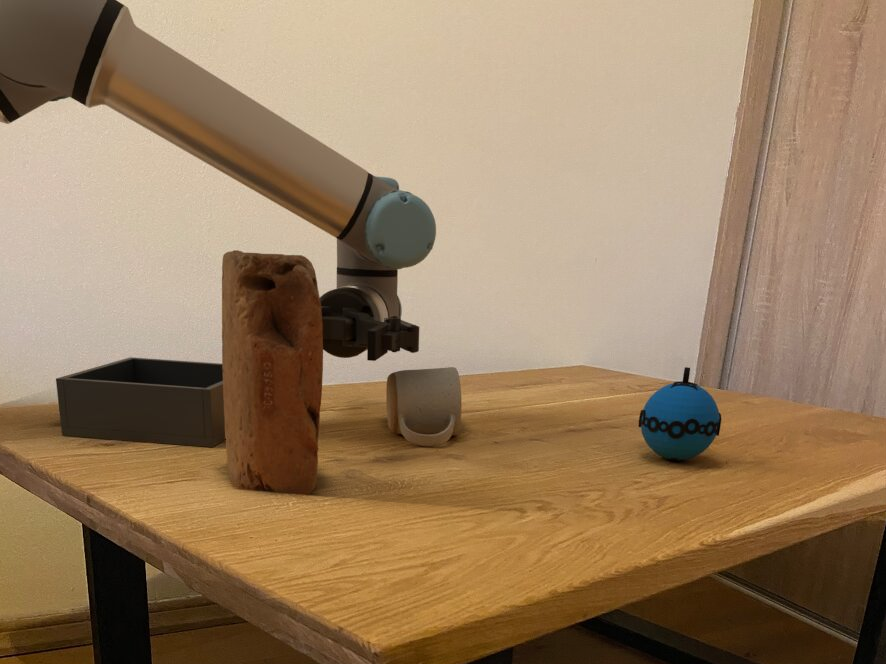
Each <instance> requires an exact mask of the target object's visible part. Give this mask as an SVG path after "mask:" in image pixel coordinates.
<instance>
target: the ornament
mask: <svg viewBox="0 0 886 664" xmlns="http://www.w3.org/2000/svg"><path fill="white" fill-rule="evenodd" d="M690 374H691V367H687V366H685V367H684V370H683V374H682V375H683V377H682V381H680V380H678V381H674V382H673V383H669V384H666V385H664V386H662V387H661V388H659V389H657V390H656V391H655V392H654V393H652V395H651V396H649V398H648V400H647V401H646V403H645V404H644V406H643V409H641V410H640V414H639V417H638V428H640V430H641V434H642V437H643V439H644V441H645V443H646V444H647V446H648V447H649V449H650V450H652V451H653V452H654V453H655V454H656V455H658V456H660V457H661V458H663V459H665V460H668V461H671V462H683V461H686V460H691V459H694V458H696V457H698V456H699V455H701V454H702V453H704V452H705V451H706V450H707V449H708V448H709V447H710V446H711V445H712V443H713V442H714V440H715V439H716V437H719V436H720V433H721V432H720V431H721V426H722V414H721V413H720V410H719V408H718V405H717V402H716V401H715V399H714V398H713V396H712V395H711V394H710V393H709V392H708V391H707V390H706V389H704V388H703V387H701V386H700V385H698V383H695V382H691V381H690Z"/></svg>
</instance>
